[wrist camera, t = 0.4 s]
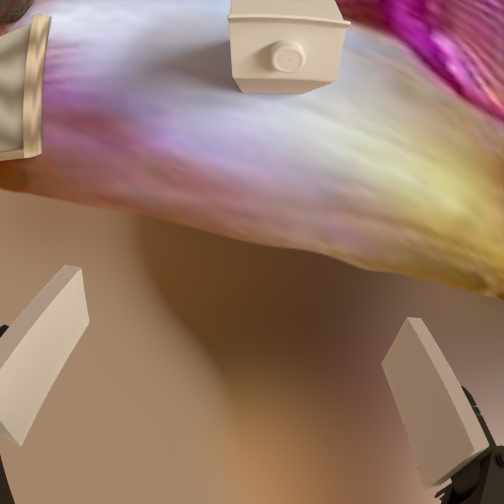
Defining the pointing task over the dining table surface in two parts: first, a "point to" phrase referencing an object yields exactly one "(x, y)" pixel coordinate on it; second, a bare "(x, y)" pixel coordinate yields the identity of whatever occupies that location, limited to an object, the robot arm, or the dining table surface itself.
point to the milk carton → (285, 44)
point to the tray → (22, 89)
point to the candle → (13, 9)
